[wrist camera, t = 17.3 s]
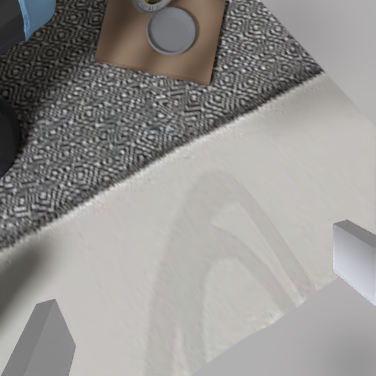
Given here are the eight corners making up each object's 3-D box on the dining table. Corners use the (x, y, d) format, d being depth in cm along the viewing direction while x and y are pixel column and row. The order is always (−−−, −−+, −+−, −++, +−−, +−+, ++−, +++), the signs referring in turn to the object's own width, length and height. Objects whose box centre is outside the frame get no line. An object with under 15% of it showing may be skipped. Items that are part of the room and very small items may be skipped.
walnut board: (96, 61, 37) (94, 57, 36) (115, -18, 38) (113, -24, 37) (208, 85, 37) (209, 82, 36) (224, 6, 38) (225, 1, 37)
